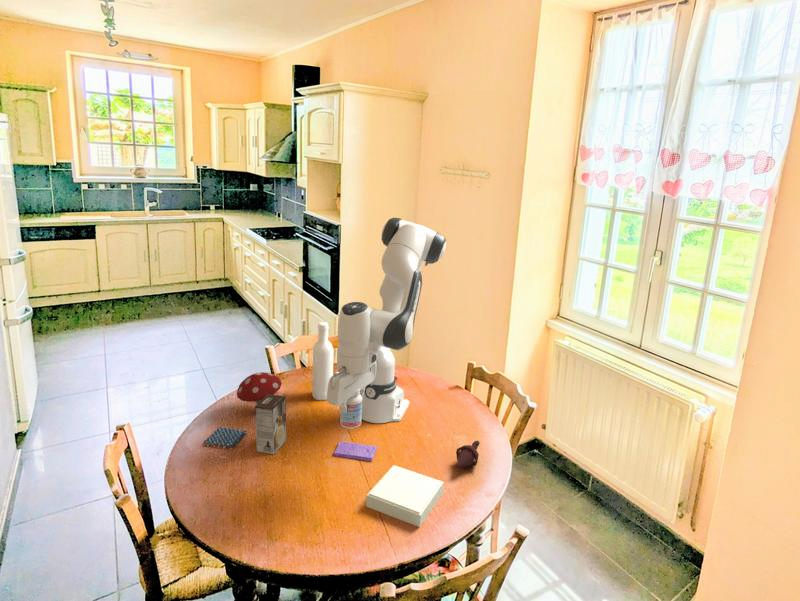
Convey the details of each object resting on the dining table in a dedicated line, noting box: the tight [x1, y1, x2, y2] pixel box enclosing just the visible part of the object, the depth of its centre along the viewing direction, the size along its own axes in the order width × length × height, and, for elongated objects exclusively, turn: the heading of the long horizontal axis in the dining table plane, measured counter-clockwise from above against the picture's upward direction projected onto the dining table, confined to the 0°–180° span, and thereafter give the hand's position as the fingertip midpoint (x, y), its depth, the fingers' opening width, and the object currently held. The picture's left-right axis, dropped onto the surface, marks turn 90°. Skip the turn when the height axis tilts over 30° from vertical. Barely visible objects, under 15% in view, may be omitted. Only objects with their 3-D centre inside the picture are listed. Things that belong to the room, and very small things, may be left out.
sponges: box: [333, 440, 378, 462], centre depth 163 cm, size 7×13×2 cm, turn 80°
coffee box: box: [254, 394, 287, 455], centre depth 162 cm, size 9×6×16 cm
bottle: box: [311, 321, 334, 401], centre depth 194 cm, size 8×8×30 cm
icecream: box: [455, 440, 481, 469], centre depth 158 cm, size 7×7×15 cm
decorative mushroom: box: [236, 371, 283, 406], centre depth 182 cm, size 16×16×15 cm
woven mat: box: [203, 426, 248, 451], centre depth 166 cm, size 10×11×2 cm
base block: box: [365, 464, 445, 528], centre depth 141 cm, size 16×16×4 cm
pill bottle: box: [339, 389, 362, 430], centre depth 144 cm, size 6×6×11 cm
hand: (351, 406), depth 144 cm, fingers closed on pill bottle, 6 cm apart
